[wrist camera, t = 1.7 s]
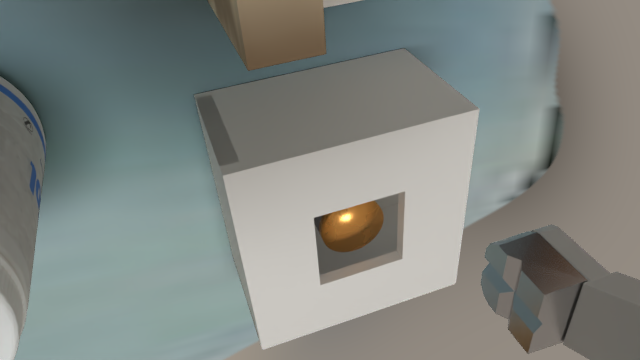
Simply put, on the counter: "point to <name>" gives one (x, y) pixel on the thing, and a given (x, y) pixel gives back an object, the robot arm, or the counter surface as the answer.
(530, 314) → the robot arm
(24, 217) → the supplement tub
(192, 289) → the counter surface
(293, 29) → the rectangular block
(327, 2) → the tile
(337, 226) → the orange ball
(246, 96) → the box
